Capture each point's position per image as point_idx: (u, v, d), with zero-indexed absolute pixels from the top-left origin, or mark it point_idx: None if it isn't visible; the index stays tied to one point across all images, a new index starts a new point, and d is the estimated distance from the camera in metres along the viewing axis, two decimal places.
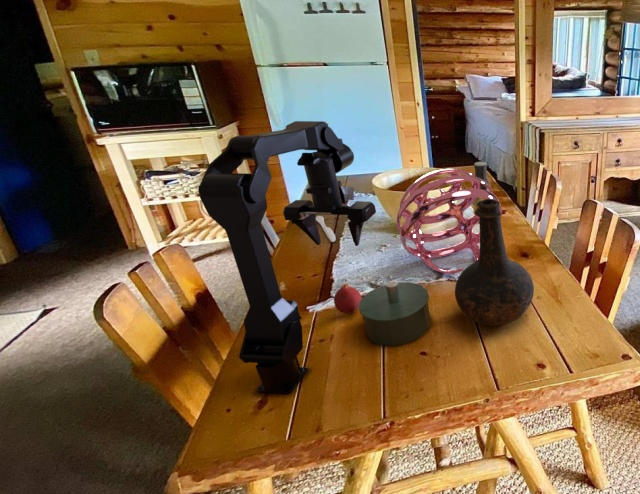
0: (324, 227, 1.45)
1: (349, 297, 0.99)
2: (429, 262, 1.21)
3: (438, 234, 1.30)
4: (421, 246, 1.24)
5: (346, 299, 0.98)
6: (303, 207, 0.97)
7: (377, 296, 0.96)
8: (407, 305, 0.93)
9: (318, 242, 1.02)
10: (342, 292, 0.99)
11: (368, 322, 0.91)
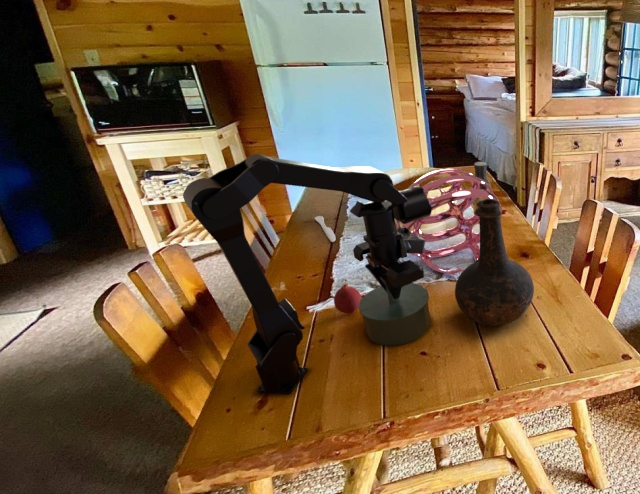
0: (324, 227, 1.45)
1: (349, 297, 0.99)
2: (429, 262, 1.21)
3: (438, 234, 1.30)
4: None
5: (346, 299, 0.98)
6: (370, 250, 0.93)
7: (377, 296, 0.96)
8: (407, 305, 0.93)
9: None
10: (342, 292, 0.99)
11: (368, 322, 0.91)
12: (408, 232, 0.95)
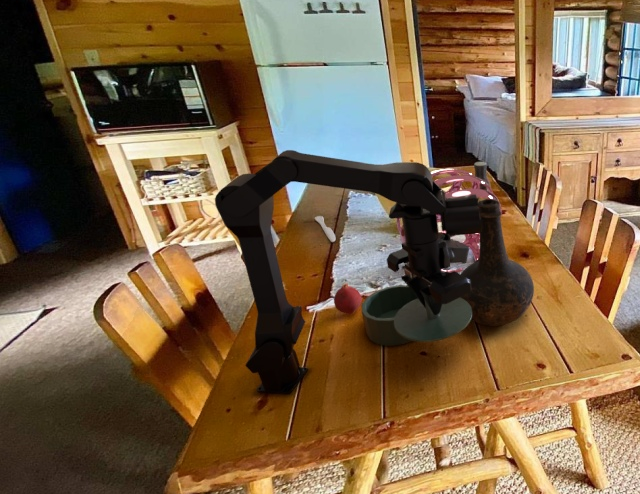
0: (324, 227, 1.45)
1: (349, 297, 0.99)
2: None
3: None
4: None
5: (346, 299, 0.98)
6: (406, 259, 0.82)
7: (413, 311, 0.85)
8: (449, 322, 0.82)
9: None
10: (342, 292, 0.99)
11: (368, 322, 0.91)
12: (449, 238, 0.84)
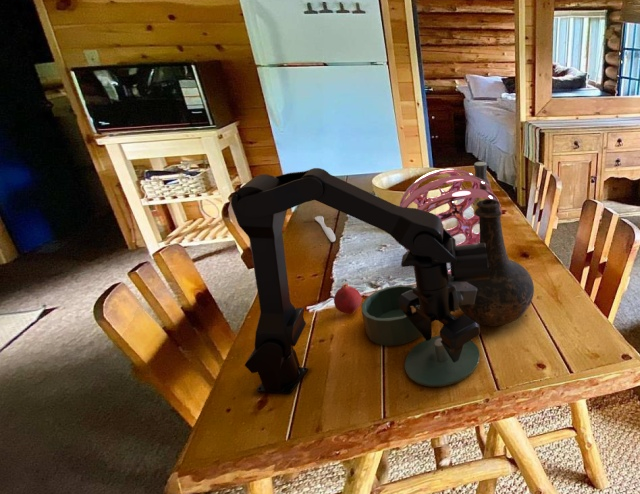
0: (324, 227, 1.45)
1: (349, 297, 0.99)
2: None
3: None
4: None
5: (346, 299, 0.98)
6: (416, 300, 0.85)
7: (423, 353, 0.89)
8: (458, 365, 0.85)
9: (427, 338, 0.89)
10: (342, 292, 0.99)
11: (368, 322, 0.91)
12: None
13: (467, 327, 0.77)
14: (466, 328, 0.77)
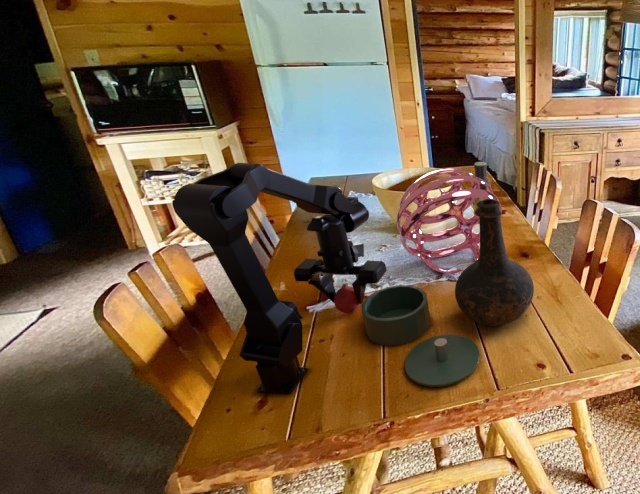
0: None
1: (349, 297, 0.99)
2: (429, 262, 1.21)
3: (438, 234, 1.30)
4: (421, 246, 1.24)
5: (346, 299, 0.98)
6: (314, 267, 0.97)
7: (423, 353, 0.89)
8: (458, 365, 0.85)
9: None
10: (342, 292, 0.99)
11: (368, 322, 0.91)
12: None
13: (379, 265, 0.97)
14: (379, 265, 0.97)
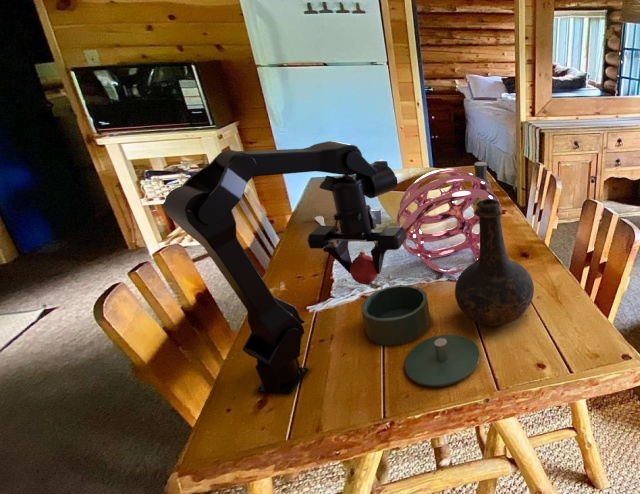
0: None
1: (367, 266, 0.92)
2: (429, 262, 1.21)
3: (438, 234, 1.30)
4: (421, 246, 1.24)
5: (364, 268, 0.92)
6: (329, 234, 0.90)
7: (423, 353, 0.89)
8: (458, 365, 0.85)
9: None
10: (359, 261, 0.92)
11: (368, 322, 0.91)
12: None
13: (399, 230, 0.90)
14: (399, 231, 0.90)
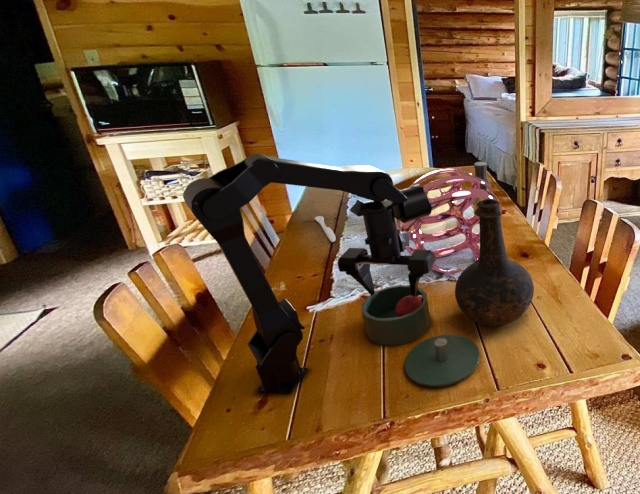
0: (324, 227, 1.45)
1: None
2: None
3: (438, 234, 1.30)
4: (421, 246, 1.24)
5: None
6: (359, 257, 0.90)
7: (423, 353, 0.89)
8: (458, 365, 0.85)
9: (372, 292, 0.94)
10: (414, 302, 0.95)
11: (368, 322, 0.91)
12: None
13: (429, 254, 0.90)
14: (429, 255, 0.90)
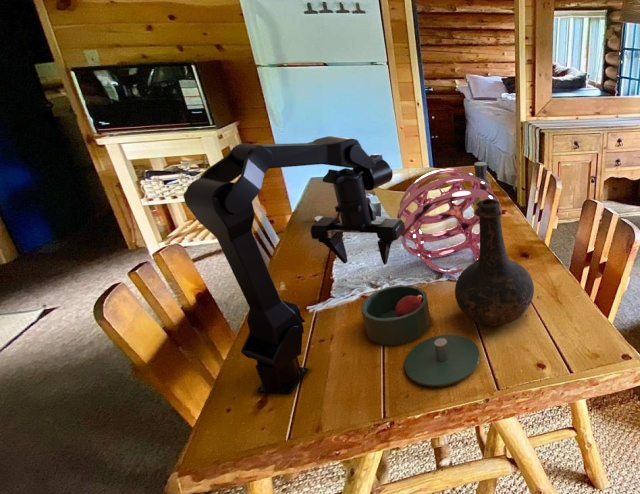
0: None
1: None
2: (429, 262, 1.21)
3: (438, 234, 1.30)
4: (421, 246, 1.24)
5: None
6: (331, 225, 0.94)
7: (423, 353, 0.89)
8: (458, 365, 0.85)
9: (345, 260, 0.98)
10: (414, 302, 0.95)
11: (368, 322, 0.91)
12: None
13: (398, 222, 0.94)
14: (398, 223, 0.94)
